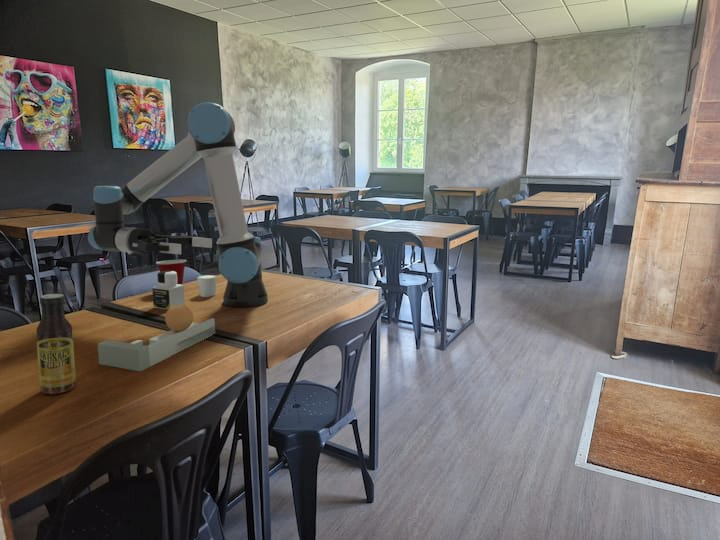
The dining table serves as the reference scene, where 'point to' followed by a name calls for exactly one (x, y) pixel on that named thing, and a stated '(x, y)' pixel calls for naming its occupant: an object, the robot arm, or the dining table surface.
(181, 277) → the plastic cup
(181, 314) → the ball
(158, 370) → the dining table surface
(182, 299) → the medicine bottle
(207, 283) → the white tapered cup
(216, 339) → the dining table surface
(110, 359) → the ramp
